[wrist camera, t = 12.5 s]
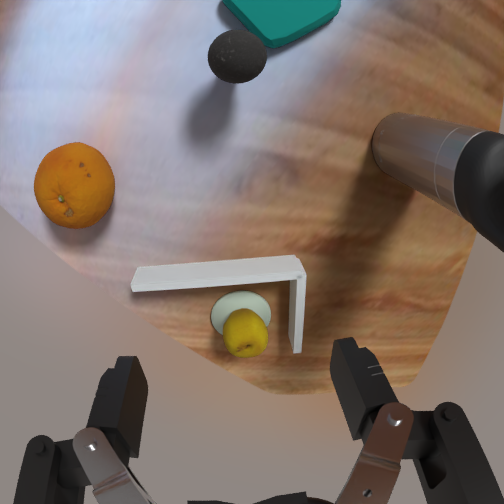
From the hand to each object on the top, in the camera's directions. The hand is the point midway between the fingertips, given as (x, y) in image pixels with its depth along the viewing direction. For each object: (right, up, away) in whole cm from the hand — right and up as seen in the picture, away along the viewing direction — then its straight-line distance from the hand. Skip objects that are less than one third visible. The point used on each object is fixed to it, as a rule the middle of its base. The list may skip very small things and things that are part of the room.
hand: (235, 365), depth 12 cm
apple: (-1, -5, +36) cm, 36 cm away
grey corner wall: (-4, -3, +35) cm, 35 cm away
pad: (-1, -5, +36) cm, 36 cm away
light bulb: (-1, +26, +21) cm, 33 cm away
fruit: (-21, +14, +25) cm, 35 cm away
